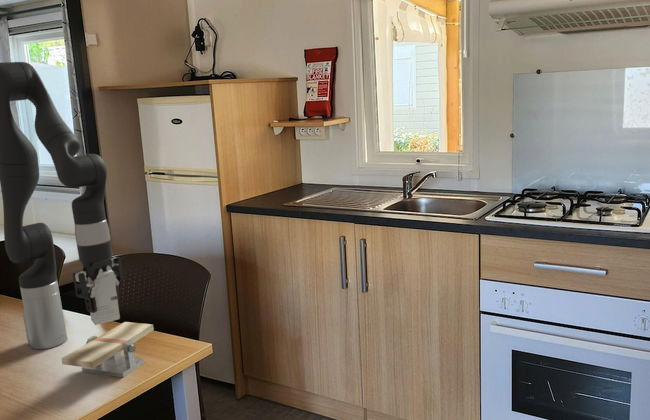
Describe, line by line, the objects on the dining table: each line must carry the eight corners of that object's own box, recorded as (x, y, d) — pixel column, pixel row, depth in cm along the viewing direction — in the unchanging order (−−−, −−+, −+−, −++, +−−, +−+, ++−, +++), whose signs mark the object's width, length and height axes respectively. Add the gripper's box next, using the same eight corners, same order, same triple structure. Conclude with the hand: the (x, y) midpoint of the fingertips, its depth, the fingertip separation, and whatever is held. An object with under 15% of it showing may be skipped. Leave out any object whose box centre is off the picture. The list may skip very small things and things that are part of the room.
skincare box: (95, 326, 145) (87, 277, 143) (90, 320, 149) (82, 272, 147) (121, 318, 149) (114, 271, 146) (116, 313, 152) (109, 266, 150)
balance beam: (62, 364, 142) (61, 357, 142) (125, 327, 162) (124, 321, 162) (93, 368, 139) (92, 361, 138) (153, 330, 159) (153, 324, 158)
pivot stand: (80, 371, 150) (75, 344, 149) (103, 357, 158) (99, 330, 156) (125, 377, 145) (121, 349, 144) (146, 362, 153) (142, 335, 151)
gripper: (83, 249, 137) (95, 318, 140) (126, 232, 150) (136, 296, 153) (58, 248, 140) (69, 316, 143) (102, 231, 153) (111, 295, 156)
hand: (104, 306), depth 148 cm, fingers closed on skincare box, 7 cm apart
